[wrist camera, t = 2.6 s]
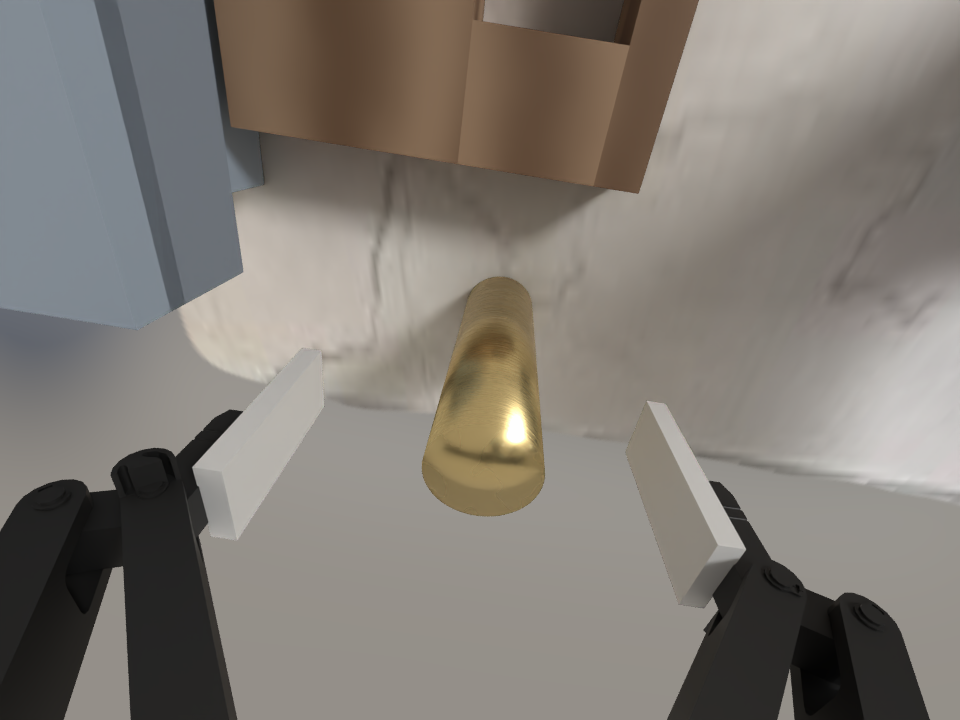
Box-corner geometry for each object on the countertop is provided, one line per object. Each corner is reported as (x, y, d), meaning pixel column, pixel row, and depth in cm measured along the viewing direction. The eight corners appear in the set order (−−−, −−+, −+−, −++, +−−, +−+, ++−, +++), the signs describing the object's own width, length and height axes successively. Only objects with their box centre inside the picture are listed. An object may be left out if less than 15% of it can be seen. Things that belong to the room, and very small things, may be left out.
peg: (541, 324, 26) (561, 501, 14) (482, 345, 27) (453, 526, 15) (518, 266, 24) (518, 409, 12) (456, 290, 25) (400, 444, 13)
